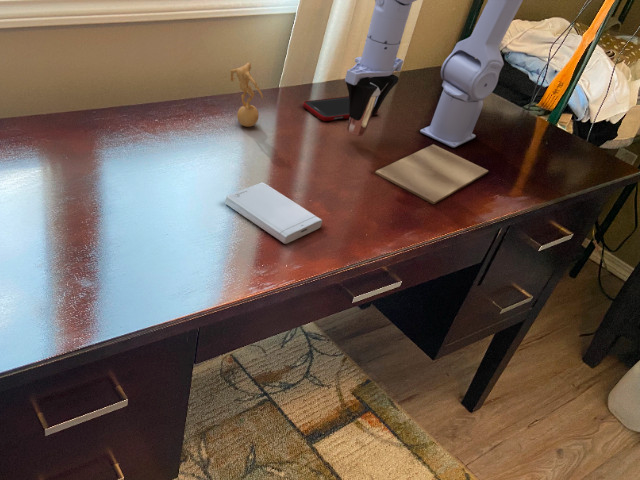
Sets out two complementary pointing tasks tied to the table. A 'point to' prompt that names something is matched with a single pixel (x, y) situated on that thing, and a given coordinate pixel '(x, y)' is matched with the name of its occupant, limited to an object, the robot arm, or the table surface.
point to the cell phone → (329, 108)
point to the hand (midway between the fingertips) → (362, 115)
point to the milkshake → (364, 116)
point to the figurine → (247, 112)
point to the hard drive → (273, 212)
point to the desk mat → (432, 173)
